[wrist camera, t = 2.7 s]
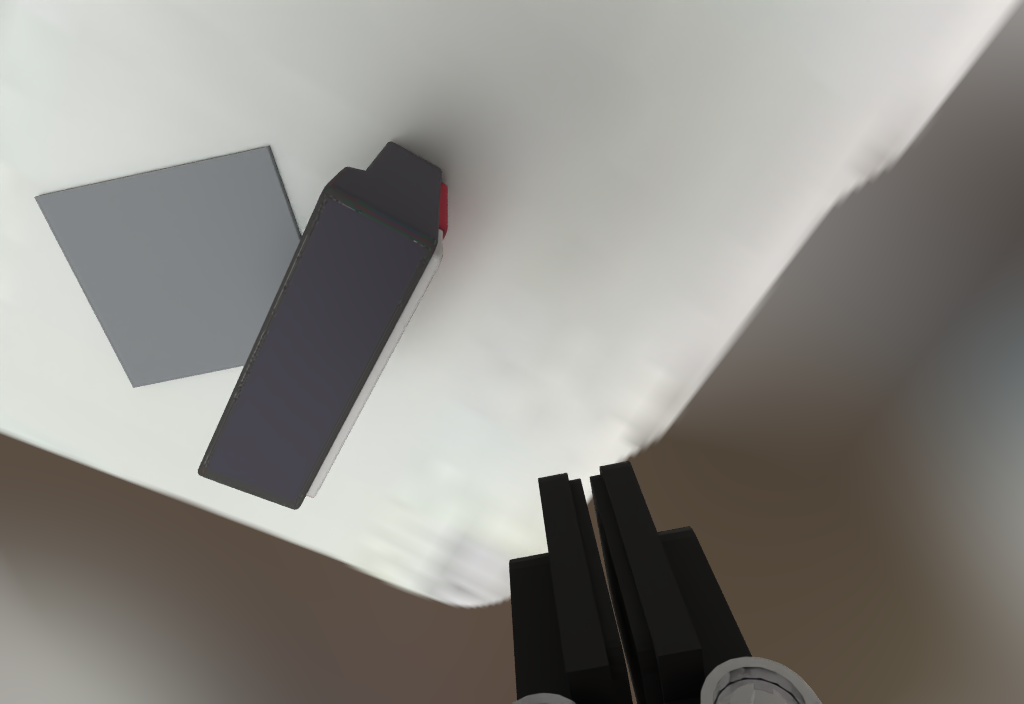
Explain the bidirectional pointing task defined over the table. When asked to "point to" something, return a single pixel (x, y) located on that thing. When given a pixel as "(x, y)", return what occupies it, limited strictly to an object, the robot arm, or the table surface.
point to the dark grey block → (331, 327)
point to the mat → (179, 260)
